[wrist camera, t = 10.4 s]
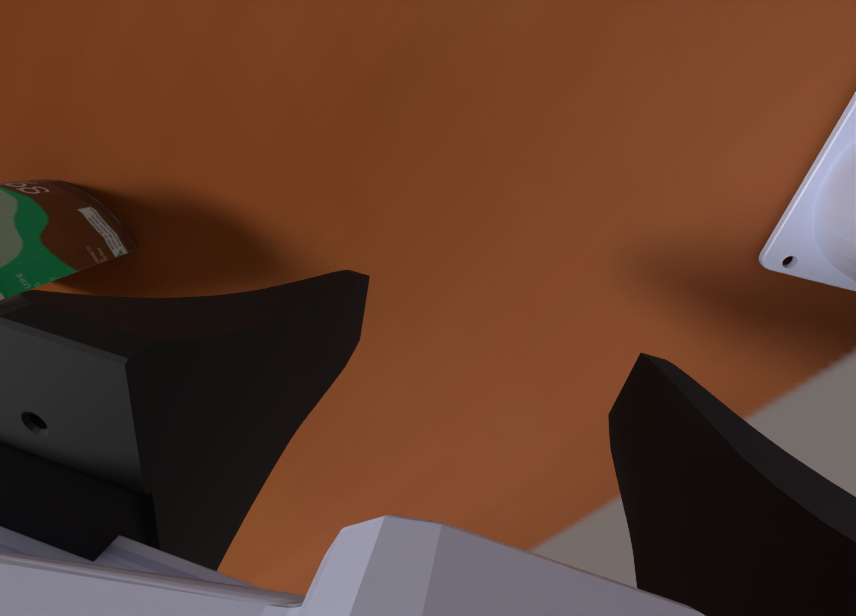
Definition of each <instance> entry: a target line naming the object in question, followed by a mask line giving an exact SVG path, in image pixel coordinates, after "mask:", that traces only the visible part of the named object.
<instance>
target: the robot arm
mask: <svg viewBox="0 0 856 616" xmlns="http://www.w3.org/2000/svg"><path fill="white" fill-rule="evenodd" d="M789 256H792V257H793V258H792V261H791V262H790V263H789V264H787V265H782V262H783V260H784V259H785V258H786V257H789ZM759 262H760V264H761V265H762V266H763V267H765V268H767V269H769V270H772V271H776V272H780V273H784V274H788V275H792V276H796V277H800V278H804V279H808V280H812V281H816V282H820V283H824V284H828V285H832V286H836V287H840V288H844V289H848V290H852V291H856V92H855V94H854V96H853V97H852V99H851V101H850V102H849V104H848V106H847V107H846V109H845V111H844V112H843V114H842V116H841V118H840V119H839V121H838V123H837V124H836V126H835V128H834V129H833V131H832V133H831V134H830V136H829V138H828V140H827V141H826V143H825V145H824V146H823V148H822V150H821V151H820V153H819V155H818V156H817V158H816V160H815V161H814V163H813V165H812V167H811V168H810V170H809V172H808V173H807V175H806V177H805V178H804V180H803V182H802V183H801V185H800V187H799V189H798V190H797V192H796V194H795V195H794V197H793V199H792V200H791V202H790V204H789V205H788V207H787V209H786V211H785V212H784V214H783V216H782V217H781V219H780V221H779V222H778V224H777V226H776V227H775V229H774V231H773V233H772V234H771V236H770V238H769V239H768V241H767V243H766V244H765V246H764V248H763V249H762V251H761V253H760V255H759ZM368 283H369V276H368V275H365V274H361V273H358V272H354V271H350V270H342V271H337V272H333V273H328V274H324V275H321V276H317V277H313V278H309V279H305V280H301V281H297V282H293V283H289V284H284V285H279V286H274V287H270V288H265V289H260V290H255V291H249V292H242V293H234V294H225V295H216V296H200V297H180V298H129V297H107V296H93V295H81V294H70V293H59V292H48V291H39V290H28V291H24V292H21V293H18V294H15V295H13V296H10V297H7V298H4V299H2V300H0V616H856V497H855V496H853V495H851V494H850V493H848V492H847V491H845V490H843V489H841V488H840V487H839V486H837V485H835V484H834V483H832V482H830V481H829V480H827V479H826V478H824V477H823V476H821V475H820V474H818V473H817V472H815V471H814V470H812V469H811V468H809V467H808V466H806V465H805V464H803V463H802V462H800V461H799V460H797V459H796V458H794V457H793V456H791V455H790V454H789V453H787V452H785V451H784V450H783V449H781V448H780V447H779V446H777V445H776V444H775V443H773V442H772V441H770V440H769V439H768V438H767V437H765V436H764V435H763V434H761V433H760V432H758V431H757V430H756V429H755V428H753V427H752V426H751V425H749V424H748V423H747V422H746V421H744V420H743V419H742V418H740V417H739V416H738V415H737V414H735V413H734V412H733V411H732V410H730V409H729V408H728V407H727V406H725V405H724V404H723V403H722V402H721V401H719V400H718V399H717V398H716V397H714V396H713V395H712V394H711V393H710V392H708V391H707V390H706V389H705V388H703V387H702V386H701V385H700V384H699V383H697V382H696V381H695V380H694V379H692V378H691V377H690V376H689V375H687V374H686V373H685V372H683V371H682V370H681V369H679V368H678V367H677V366H675V365H674V364H672V363H670V362H669V361H667V360H665V359H661V358H658V357H654V356H651V355H647V354H644V353H640V355H639V357H638V359H637V361H636V363H635V365H634V367H633V369H632V370H631V372H630V374H629V376H628V378H627V380H626V382H625V384H624V386H623V388H622V390H621V392H620V394H619V395H618V397H617V399H616V401H615V403H614V405H613V407H612V409H611V411H610V413H609V435H610V447H611V453H612V458H613V462H614V467H615V472H616V476H617V480H618V485H619V489H620V493H621V498H622V502H623V506H624V511H625V515H626V518H627V523H628V528H629V532H630V538H631V543H632V549H633V556H634V564H635V573H636V581H637V588H634V587H632V586H629V585H626V584H623V583H620V582H617V581H614V580H611V579H608V578H605V577H602V576H599V575H596V574H593V573H590V572H588V571H584V570H582V569H579V568H576V567H573V566H570V565H567V564H564V563H561V562H558V561H555V560H552V559H549V558H546V557H543V556H540V555H537V554H535V553H532V552H529V551H526V550H523V549H520V548H517V547H514V546H511V545H508V544H505V543H502V542H499V541H496V540H493V539H490V538H487V537H485V536H482V535H479V534H476V533H473V532H470V531H467V530H464V529H461V528H458V527H455V526H452V525H449V524H446V523H443V522H439V521H433V520H426V519H419V518H413V517H406V516H400V515H393V514H391V515H386V516H382V517H379V518H375V519H372V520H369V521H365V522H362V523H358V524H355V525H352V526H348V527H345V528H342V530H341V531H340V533H339V534H338V536H337V537H336V539H335V540H334V542H333V544H332V545H331V547H330V548H329V550H328V551H327V553H326V554H325V556H324V558H323V560H322V562H321V565H320V567H319V569H318V571H317V573H316V575H315V578H314V580H313V582H312V584H311V586H310V588H309V590H308V593H307V595H301V594H294V593H287V592H281V591H274V590H267V589H262V588H259V587H257V586H254V585H251V584H249V583H246V582H243V581H241V580H238V579H235V578H233V577H230V576H227V575H225V574H222V573H219V572H217V569H218V567H219V565H220V563H221V561H222V559H223V557H224V555H225V554H226V552H227V550H228V548H229V546H230V544H231V542H232V541H233V539H234V537H235V535H236V533H237V531H238V530H239V528H240V526H241V524H242V522H243V520H244V519H245V517H246V515H247V513H248V511H249V509H250V508H251V506H252V504H253V502H254V501H255V499H256V497H257V495H258V494H259V492H260V490H261V488H262V487H263V485H264V483H265V481H266V480H267V478H268V476H269V475H270V473H271V471H272V469H273V468H274V466H275V464H276V463H277V461H278V459H279V458H280V456H281V455H282V453H283V451H284V450H285V448H286V446H287V445H288V443H289V441H290V440H291V438H292V437H293V435H294V434H295V432H296V431H297V429H298V428H299V427H300V425H301V424H302V422H303V421H304V420H305V419H306V417H307V416H308V415H309V413H310V412H311V411H312V410H313V408H314V407H315V406H316V404H317V403H318V402H319V400H320V399H321V398H322V397H323V395H324V394H325V393H326V391H327V390H328V389H329V388H330V386H331V385H332V384H333V382H334V381H335V380H336V378H337V377H338V376H339V374H340V373H341V372H342V370H343V369H344V368H345V366H346V364H347V363H348V361H349V359H350V357H351V356H352V354H353V352H354V350H355V348H356V346H357V344H358V342H359V341H360V336H361V329H362V323H363V316H364V309H365V303H366V296H367V290H368Z"/></svg>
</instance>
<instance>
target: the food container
mask: <svg viewBox="0 0 856 616" xmlns="http://www.w3.org/2000/svg"><path fill="white" fill-rule="evenodd" d="M134 250H137V247H136V245H135V244H134V242H133V240H132V238H131V237H130V235H129V233H128V232H127V230H126V229H125V228H124V227H123V226H122V224H121V223H120V222H119V221H118V220H117V219H116V218H115V216H114V215H113V214H112V213H111V212H110V211H109V210H108V208H107V207H105V206H104V205H103V204H101V203H100V202H99V201H97V200H96V199H95V198H93V197H92V196H91V195H89V194H88V193H87V192H85V191H84V190H82V189H79V188H77V187H74V186H72V185H70V184H67V183H65V182H62V181H56V180H31V181H18V182H5V183H0V300H2V299H4V298H7V297H10V296H13V295H15V294H18V293H21V292H24V291H28V290H30V289H33V288H36V287H38V286H41V285H44V284H46V283H49V282H52V281H54V280H57V279H60V278H62V277H65V276H68V275H70V274H73V273H76V272H78V271H81V270H84V269H86V268H89V267H92V266H94V265H97V264H100V263H102V262H105V261H108V260H110V259H113V258H116V257H118V256H121V255H124V254H126V253H129V252H132V251H134Z"/></svg>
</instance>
